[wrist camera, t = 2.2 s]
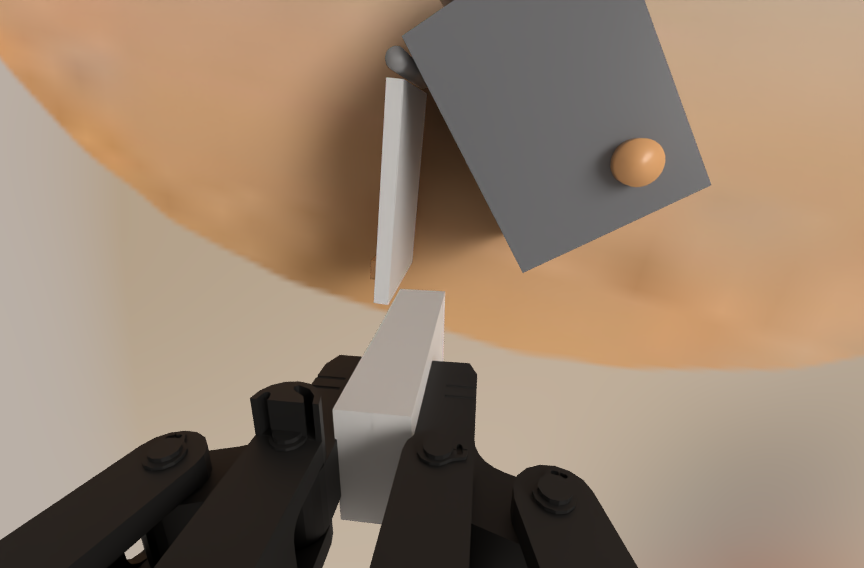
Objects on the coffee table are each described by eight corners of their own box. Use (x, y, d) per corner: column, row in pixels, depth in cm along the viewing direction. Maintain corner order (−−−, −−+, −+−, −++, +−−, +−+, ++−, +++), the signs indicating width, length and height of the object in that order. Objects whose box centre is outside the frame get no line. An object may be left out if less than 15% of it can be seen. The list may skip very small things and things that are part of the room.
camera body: (411, 31, 26) (369, -23, 17) (548, -63, 24) (588, -186, 14) (512, 232, 29) (524, 278, 20) (641, 168, 27) (720, 187, 18)
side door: (402, 69, 27) (366, 42, 19) (431, 71, 27) (408, 46, 19) (389, 257, 31) (356, 300, 23) (414, 260, 31) (389, 305, 23)
